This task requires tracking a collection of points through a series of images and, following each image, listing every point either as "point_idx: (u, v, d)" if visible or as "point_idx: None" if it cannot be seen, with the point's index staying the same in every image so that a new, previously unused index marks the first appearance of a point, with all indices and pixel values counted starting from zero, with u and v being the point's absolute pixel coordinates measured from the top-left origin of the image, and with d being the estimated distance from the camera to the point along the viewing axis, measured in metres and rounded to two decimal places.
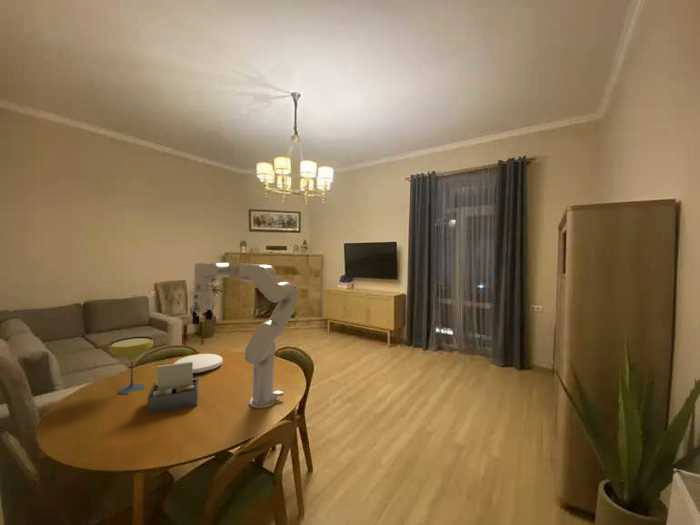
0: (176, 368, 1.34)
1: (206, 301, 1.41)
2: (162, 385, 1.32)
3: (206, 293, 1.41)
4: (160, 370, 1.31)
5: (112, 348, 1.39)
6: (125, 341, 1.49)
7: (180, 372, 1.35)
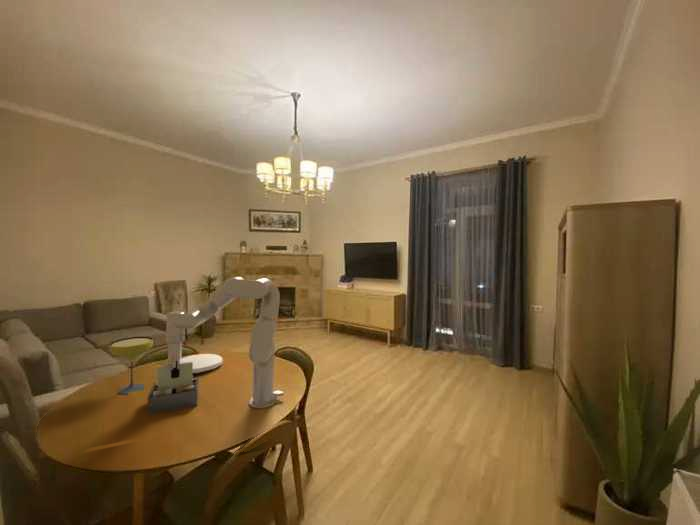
0: None
1: None
2: (162, 385, 1.32)
3: None
4: (160, 370, 1.31)
5: (112, 348, 1.39)
6: (125, 341, 1.49)
7: (181, 372, 1.35)
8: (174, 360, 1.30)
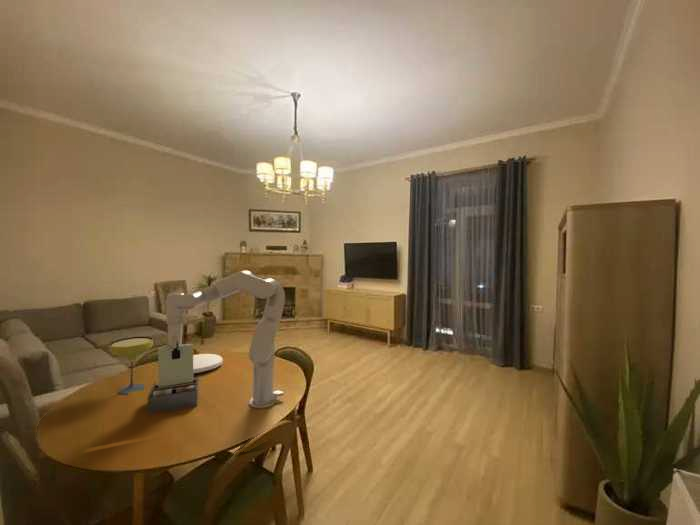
0: None
1: None
2: (163, 366, 1.32)
3: None
4: (161, 351, 1.31)
5: (112, 348, 1.39)
6: (125, 341, 1.49)
7: (181, 354, 1.35)
8: (174, 341, 1.30)
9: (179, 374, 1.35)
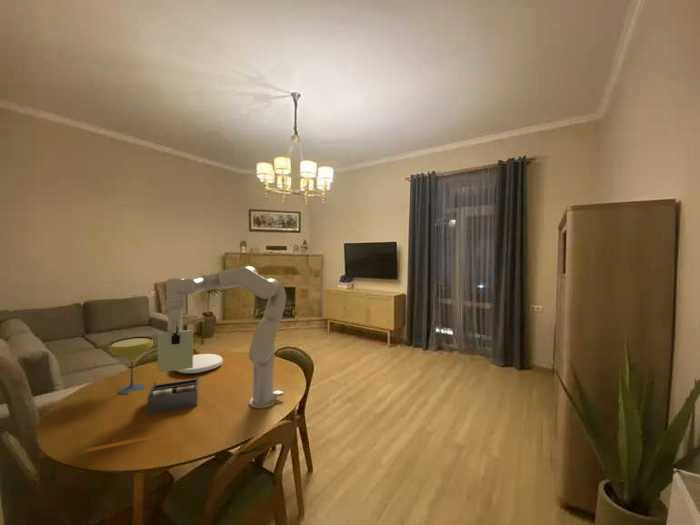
0: None
1: None
2: (162, 352, 1.32)
3: None
4: (160, 336, 1.31)
5: (112, 348, 1.39)
6: (125, 341, 1.49)
7: (181, 340, 1.35)
8: (174, 326, 1.30)
9: (179, 360, 1.34)
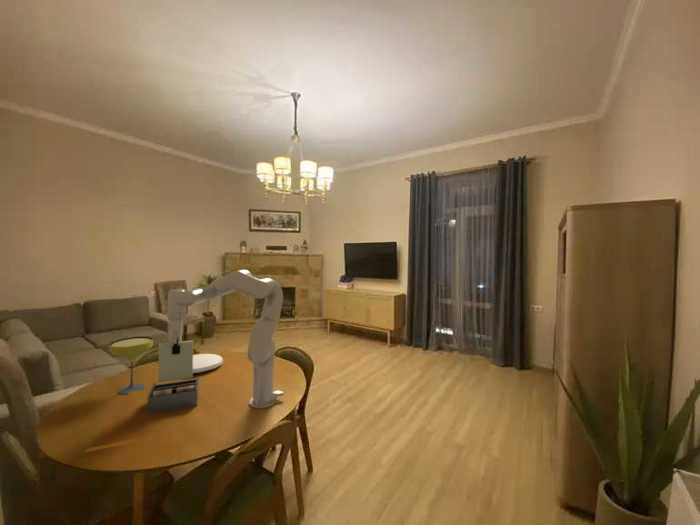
0: None
1: None
2: (163, 362, 1.35)
3: None
4: (161, 347, 1.34)
5: (112, 348, 1.39)
6: (125, 341, 1.49)
7: (181, 350, 1.38)
8: (175, 336, 1.33)
9: (179, 370, 1.38)
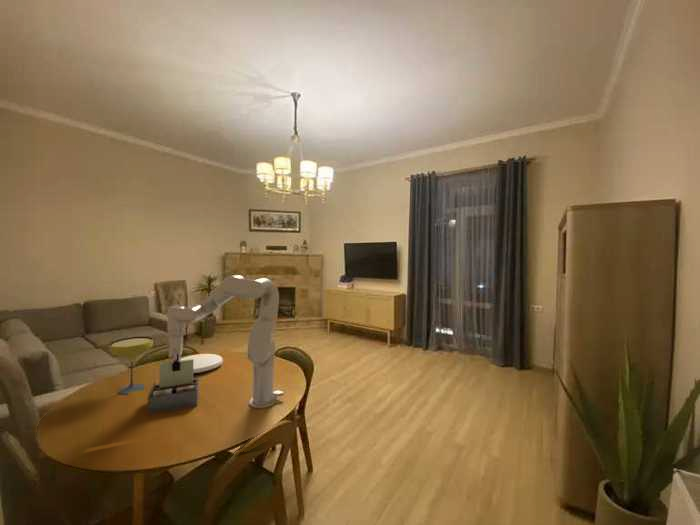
0: None
1: None
2: (164, 382, 1.35)
3: None
4: (162, 367, 1.35)
5: (112, 348, 1.39)
6: (125, 341, 1.49)
7: (182, 369, 1.38)
8: (175, 353, 1.33)
9: None
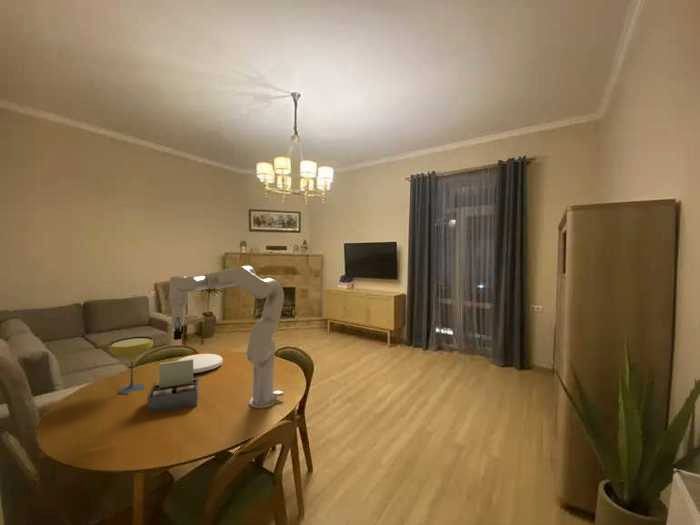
0: (177, 365, 1.37)
1: None
2: (164, 382, 1.35)
3: None
4: (162, 367, 1.35)
5: (112, 348, 1.39)
6: (125, 341, 1.49)
7: (182, 369, 1.38)
8: (177, 319, 1.33)
9: None
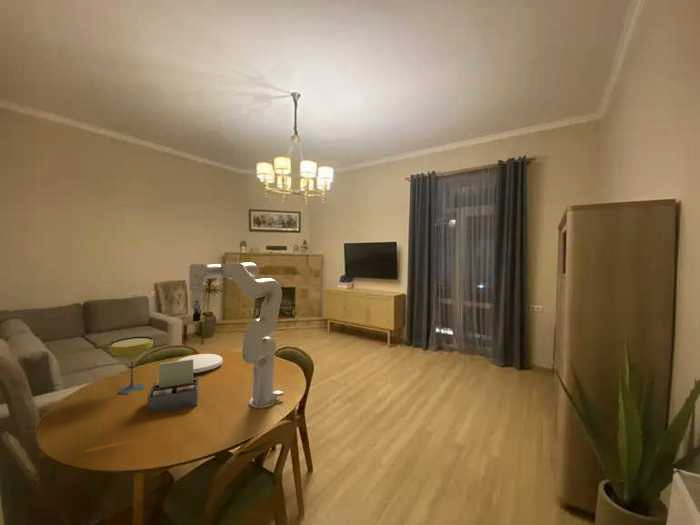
0: (177, 365, 1.37)
1: None
2: (164, 382, 1.35)
3: None
4: (162, 367, 1.35)
5: (112, 348, 1.39)
6: (125, 341, 1.49)
7: (182, 369, 1.38)
8: (196, 302, 1.46)
9: None
